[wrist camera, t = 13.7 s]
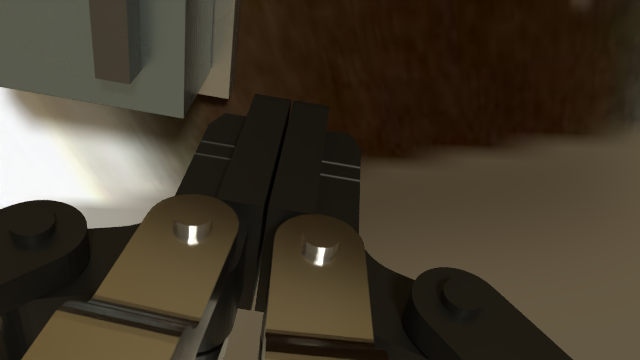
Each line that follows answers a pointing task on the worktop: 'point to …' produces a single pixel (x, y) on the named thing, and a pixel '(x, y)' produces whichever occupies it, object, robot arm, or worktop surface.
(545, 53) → the worktop surface
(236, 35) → the vise base
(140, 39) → the sliding jaw
